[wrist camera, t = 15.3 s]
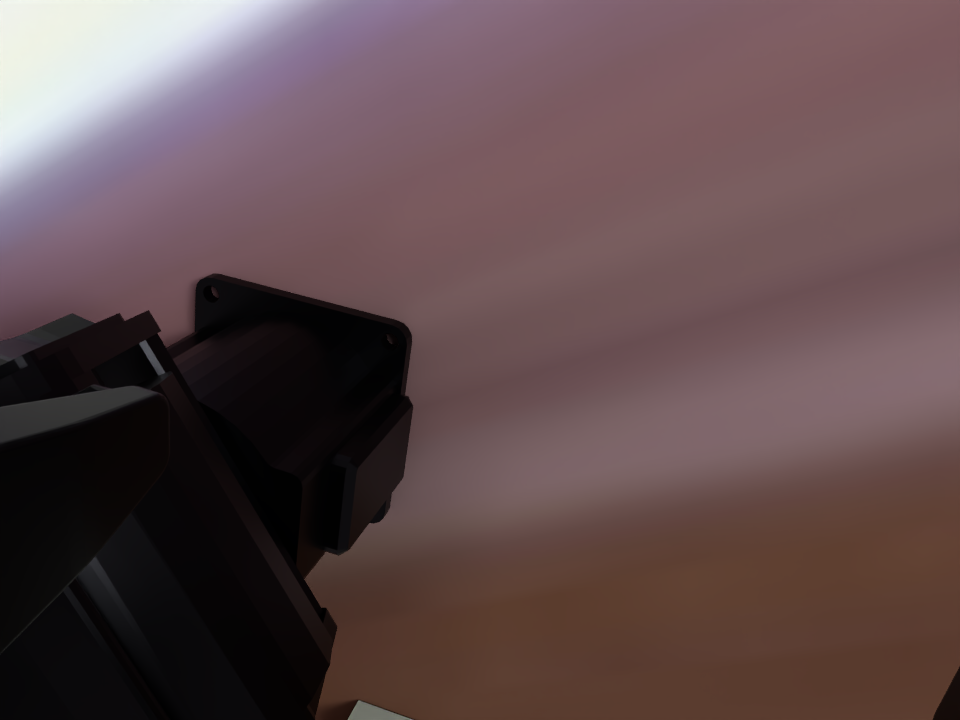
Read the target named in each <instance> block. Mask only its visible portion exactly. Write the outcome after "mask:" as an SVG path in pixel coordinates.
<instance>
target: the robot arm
mask: <svg viewBox="0 0 960 720" xmlns="http://www.w3.org/2000/svg"><path fill="white" fill-rule="evenodd" d="M212 286H213V287H215V288H216V289H217V291H218V293H219V298H217V297H215V296H214V295H213V293H212V290H211V287H212ZM159 332H161V330H160V328H159V326H158V325H157V323H156V321H155V320H154V318H153V316H152V315H151V313H150V311H149V310H148V311H146V312H144V313H142V314H139V315H137V316H135V317H133V318H131V319H128V320H126V321H124V319H123V318H122V316H121V314H120V313H119V314H116V315H114V316H112V317H109V318H107V319H105V320H102V321H100V322H97V323H93V322H91V321H88V320H86V319H84V318H81V317H79V316H77V315H75V314H70V315H67V316H65V317H63V318H60V319H58V320H56V321H53V322H51V323H49V324H46V325H44V326H42V327H40V328H37V329H35V330H32V331H30V332H28V333H25V334H23V335H20V336H17V337H14V338H11V339H7V340H3V341H0V720H315V715H316V711H317V707H318V703H319V699H320V695H321V691H322V687H323V683H324V679H325V675H326V672H327V670H328V668H329V666H330V660H331V652H332V647H333V643H334V639H335V635H336V631H337V625H336V623H335V622H334V620H333V618H332V617H331V615H330V613H329V612H328V610H327V608H321V607H320V605H319V603H318V602H317V600H316V598H315V597H314V595H313V593H312V592H311V590H310V588H309V587H308V585H307V583H306V582H305V580H304V579H305V577H306V576H307V575H308V574H309V572H310V571H311V570H312V569H313V567H314V566H315V565H316V564H317V562H318V561H319V560H320V558H321V557H322V556H323V555H324V553H325V552H330V553H333V554H336V555H341V554H342V553H344V552H346V551H348V550H349V549H350V548H351V547H352V545H353V544H354V543H355V541H356V540H357V539H358V537H359V536H360V535H361V533H362V532H363V531H364V529H365V528H366V527H367V525H368V524H369V523H377V522H380V521H381V520H382V519H383V518H384V516H385V515H386V514H387V512H388V510H389V508H390V502H391V494H392V492H393V491H394V489H395V488H396V487H397V485H398V484H399V483H400V481H401V480H402V478H403V475H404V469H405V461H406V454H407V447H408V440H409V433H410V426H411V418H412V411H413V405H412V403H411V401H410V399H409V397H408V396H405V390H406V383H407V375H408V368H409V360H410V353H411V346H412V335H411V332H410V330H409V328H408V327H407V326H406V325H405V324H404V323H402V322H400V321H397V320H394V319H390V318H386V317H382V316H378V315H375V314H371V313H367V312H363V311H359V310H356V309H352V308H348V307H344V306H340V305H336V304H333V303H329V302H325V301H321V300H317V299H313V298H310V297H306V296H302V295H298V294H294V293H290V292H287V291H283V290H279V289H275V288H271V287H267V286H264V285H260V284H256V283H252V282H248V281H244V280H241V279H237V278H233V277H229V276H225V275H222V274H212V275H209V276H207V277H205V278H203V279H201V280H200V281H199V282H198V284H197V287H196V303H195V332H194V333H192V334H191V335H189V336H187V337H185V338H184V339H182V340H180V341H178V342H176V343H175V344H173V345H171V346H169V347H168V348H166V347H165V346H164V344H163V342H162V341H161V339H160V337H159V335H158V334H157V333H159ZM387 333H392V334H393V335H395V336H396V337H397V339H398V343H399V345H398V346H394V345H392V344H390V343H389V341H388V340H387ZM933 720H960V667H959V669H958V671H957V673H956V674H955V676H954V678H953V680H952V682H951V684H950V686H949V688H948V689H947V691H946V693H945V695H944V697H943V699H942V701H941V703H940V704H939V706H938V708H937V710H936V712H935V715H934V718H933Z"/></svg>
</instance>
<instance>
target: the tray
mask: <svg viewBox="0 0 960 720" xmlns="http://www.w3.org/2000/svg"><path fill="white" fill-rule="evenodd" d="M348 720H412V719H409V718H407V717H404V716H401V715H398V714H396V713H393V712H390V711H387V710H384V709H382V708H379V707H376V706H373V705H371V704H368V703H365V702H362V701H359V700H358V702H357V704H356V706H355V707H354V709H353V711H352V713H351V714H350V716H349V718H348Z"/></svg>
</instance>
